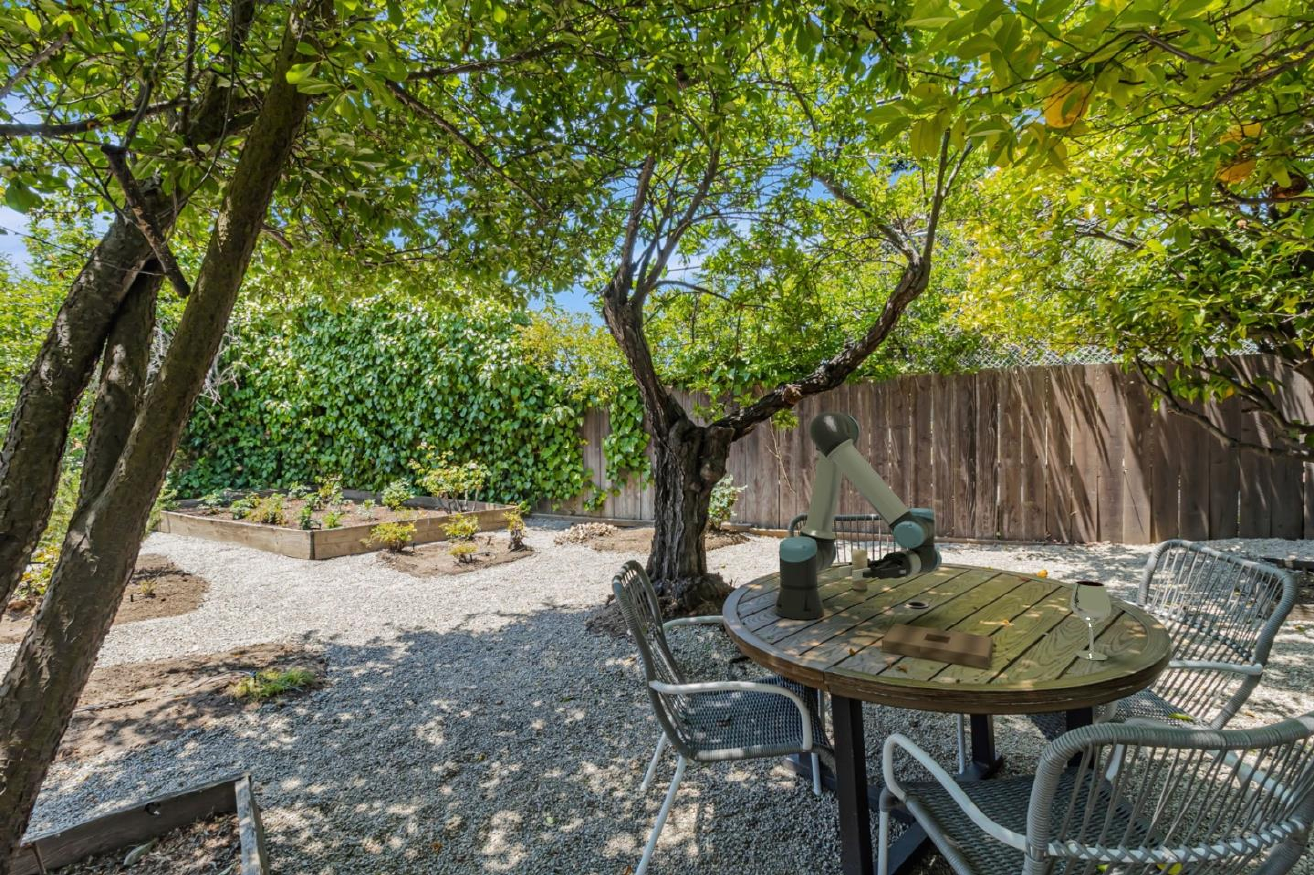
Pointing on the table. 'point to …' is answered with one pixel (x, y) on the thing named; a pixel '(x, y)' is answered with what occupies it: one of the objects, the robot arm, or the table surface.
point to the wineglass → (1090, 610)
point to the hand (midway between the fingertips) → (846, 574)
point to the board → (939, 645)
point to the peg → (858, 563)
